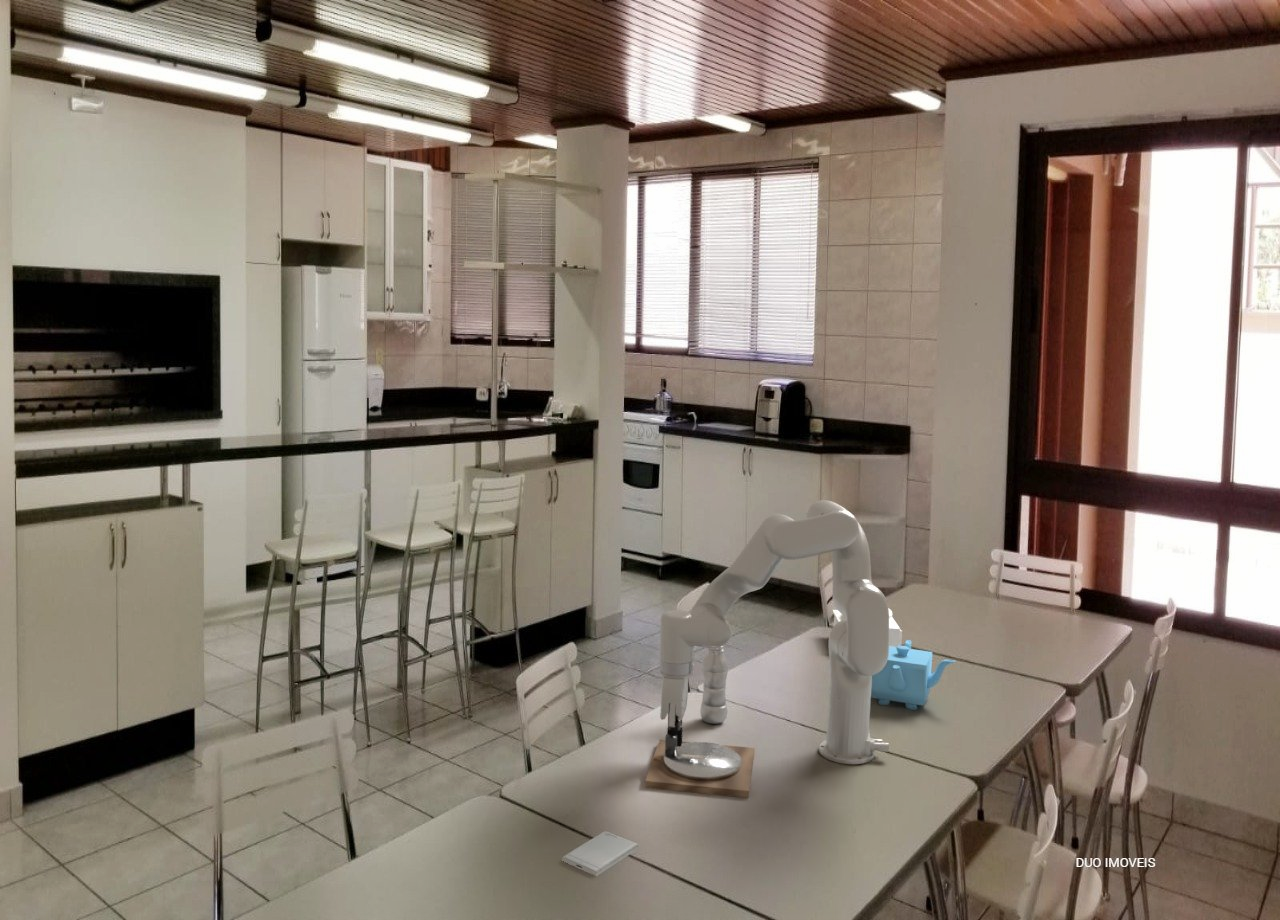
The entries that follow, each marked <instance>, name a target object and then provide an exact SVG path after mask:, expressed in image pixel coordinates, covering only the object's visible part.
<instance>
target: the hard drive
mask: <svg viewBox="0 0 1280 920" xmlns="http://www.w3.org/2000/svg"><path fill="white" fill-rule="evenodd" d="M637 850H639V845H638V843H637V842H634V841H632V840H630V839H627V838H624V837H621V836H619V835H617V834H614V833H612V832H610V831H606V830H605V831H603V832H601V833H600V834H598V835H596V836H594V837H592V838H591V839H590V840H587V841H586V842H584V843H583V844H581V845H580V846H577V847H576V848H574V849H573V850H572V851H570V852H568V853H567V854H565V855H564V856H562V858H561V862H563V861H564V862H563V863H565V862H566V863H565V864H567V863H568V865H570V866H572V867H574V866H575V867H574V868H576V869H579V870H581V871H583V872H586V873H588V874H589V875H592V876H595V877H598V876H599V875H601V874H603V873H604V872H605V871H607V870H608V869H610V868H611V867H613V866H614V865H617V864H618V863H619V862H620V861H622V860H624V859H625V858H627V857H629V856H630V855H631V854H633V853H634V852H636V851H637Z"/></svg>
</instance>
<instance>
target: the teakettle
mask: <svg viewBox="0 0 1280 920" xmlns="http://www.w3.org/2000/svg"><path fill="white" fill-rule="evenodd" d="M956 662H957V660H953V659H943V660H941V661H940V662H939V663H938V665H937V667H936V670H935V671H934V672H933V673H932V667H933V666H932V663H933V651H927V650H921V649H920V650H919V649H913V648H912V640H911V639H907V640H905V642H904V645H901V646H897V647H893V646H889V656H888V660H887V663H886V665H885V666H884V668H883V669H882V670H881V671H880V672H879V673H877V674H875V675H872V690H871V699H872V698H873V699H879V700H878V701H877V703H878V704H879V705H882V706H888V705H890V703H891V702H897V703H902V704H903V703H904V705H905V708H906V709H908V710H912V711H913V710H917V709H918V706H923V707H925V705H926V702H927V699H928V697H929V694H930V692H931V689H932V688H934V687H935V686H936V685H937V684H939V682H940V680H941V678H942V676H943V673H944V670H945V669H946V667H947V666H949V665H951V664H953V663H956Z"/></svg>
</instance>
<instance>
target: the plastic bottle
mask: <svg viewBox="0 0 1280 920" xmlns="http://www.w3.org/2000/svg"><path fill="white" fill-rule="evenodd" d="M724 646H725V645H723V646H721V647H718V648H707V652H708V653H707V654H706V655H705V656H704V658H702V662H701V671H702V679H703V684H702V685H703V690H702V702H701V705H700V711H699V712H700V717H701V719H702V721H704V722H706V723H708V724H716V725H717V724H722V723H724V722H725V721H726V719H727V716H728V706H727V699H726V689H727V687H726V686H727V677H728V671H729V662H728V660H727V657H726V655H725V654H724V651H725V649H724Z"/></svg>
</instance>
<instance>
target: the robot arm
mask: <svg viewBox="0 0 1280 920" xmlns="http://www.w3.org/2000/svg"><path fill="white" fill-rule="evenodd" d="M868 541H869V540H868V538H867V536H866V533H865V531H864V529H863V527H862V526H861V524H860V523H859V521H858V520H857V517H856V516H855V515H854V514H852V512H850V511H849V510H848V509H847V508H845V507H843V506H842V505H840V504H838V503H837V502H834V501H831V500H827V499H820V500H817V501H815V502H813V503H812V504H810V506H809V508H808V509H807V513H806V518H804V519H803V518H802V519H797V520H796V519H793V518H792V517H790V516H788V515H786V514H781V513H774V514H771V515H769V516H767V517H766V518H765V519H764V520H763V521H762V523H761V524H760V525H759V526H758V528H757V530H756V531H755V532H754V534H753V535H752V536H751V538H750V539H749V541H748V542H747V543H746V545H745V546H744V548H743V549H742V550H741V552H740V553H739V555H738V556H737V557H736V558H735V560H734V562H733V563H732V564H731V565H730V566H729V567H727V568H726V569H725V570H724V571H723V572H721V573H720V574H719V575H718V576H716V577H715V578H714V579H713V580H712V581H711V582H710V583H709V584H708V585H707V586H706V587H705V589H704V591H702V593H701V595H700V596H699V598H698V599H697V600H696V602H695V603H694V605H693V606H692V608H691V610H690V612H689V611H686V610H681V609H673V610H668V611H665V612H663V614H662V615H661V617H660V627H659V628H660V629H659V631H660V633H659V642H660V643H659V675H661V676H663V677H662V682H661V683H662V685H661V700H660V714H659V716H660V717H659V718H660V719H661V721H663V720H666V718H667V728H666V729H667V730H666V731H667V732H666V735H667V734H675V735H677V746H678V747H680V746H681V744H682V741H683V727H684V726H683V717H684V716H685V713H686V711H687V706H688V698H689V696H688V695H689V678H690V677H691V676H693V675H694V659H695V658H694V656H695V655H694V653H695V652H694V651H695V650H694V649H695V647H698V648H699V647H700V648H706V649H708V648H718V647H721V646H723V645H724V646H725V645H726V644H727V643H728V642H729V641H730V639H731V637H732V628H731V625H730V623H729V621H728V620H727V619H726V617H725V616H726V615H727V613H728V612H729V610H730V609H731V608H732V606H733V605H734V604H735V603H736V602H737V601H738V600H739V599H740V598H741V597H742V596H745V595H746V594H748V593H751V592H755V591H757V590H760V589H763V588H764V587H765V586H766V584H767V583H768V582H769V580H770V578H772V576H773V575H774V573H775V572H776V571H777V570H778V568H779V566H780V565H781V563H782V562H783V561H784V560H786V561H795V560H802V559H805V558H806V559H807V558H811V557H815V556H819V555H823V554H827V553H830V556H831V566H832V603H833V605H834V607H835V610H838V611H839V612H840V613H841V614H842V615H843V616H844V617H846V619H844V620H841V621H839V622H838V623H837V624H836V625H835V626H834V625H833V627H832V629H831V630H830V633H829V636H828V656H829V658H828V659H829V686H828V700H827V718H826V722H827V723H826V735H825V736H826V738H825V739H824V740H822V741H821V742H820V743H819V746H818V752H819V753H820V755H821V756H822V757H824V758H825V759H826V760H828V761H831V762H835V763H838V764H844V765H861V764H866V763H869V762H870V761H872V760H873V759H874V758H875V751H879V752H889V749H890V747H889V746H890V745H889V743H888V742H884V741H883V739H881V738H880V739H879V738H877V739H876V738H873V737H871V734H870V719H871V699H872V697H871V690H872V675H875V674H877V673H879V672H880V671H881V670H882V669H883V668H884V666H885V665H886V663H887V660H888V656H889V609H890V608H889V604H888V601H887V598H886V596H885V594H884V593H883V592H882V590H881V589H879V588H878V587H877V586H876V585H874V584H873V581H872V580H873V579H872V565H871V553H870V552H871V551H870V545H869V542H868ZM888 608H889V609H888Z"/></svg>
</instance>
